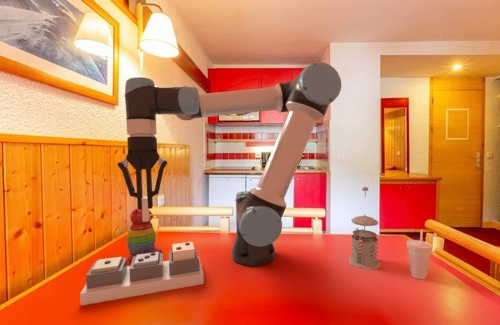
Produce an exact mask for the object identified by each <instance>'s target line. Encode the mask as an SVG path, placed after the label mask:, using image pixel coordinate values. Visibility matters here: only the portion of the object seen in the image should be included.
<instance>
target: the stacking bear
mask: <svg viewBox="0 0 500 325" xmlns="http://www.w3.org/2000/svg"><path fill="white" fill-rule="evenodd" d="M153 217H154V215H153V212H152V211H151V210H150V209H149V221H147V222H143V216H142V209H140V210H139V209H138V207H135V208H134V209H132V211H131V213H130V216H129V218H130V221H131V223H132V224H131V225H130V226H129V228H128V231H127V236H126V245H127V247H128V252H129V254H128V257H127V260H128V261H129V262H131V263H132V259H133V257H135V256H137V255H138V254H146V253H154V252H159V253H163V250H162V249H161V247H157V246H155V245H156V244H155V243H156V236H157V235H156V231H155V229H154V225H153V223H152V222H151V221H152V220H153Z"/></svg>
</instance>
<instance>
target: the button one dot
mask: <svg viewBox="0 0 500 325" xmlns="http://www.w3.org/2000/svg"><path fill="white" fill-rule="evenodd" d="M122 258H123V256H118V257H117V256H116V257H108V258H103V259H102V258H100V259H97V261H95V262H96V264H95V265H94V267H93V269H92V273H98V272H105V271H112V270H119V268H120V266H121V263H122Z"/></svg>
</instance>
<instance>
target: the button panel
mask: <svg viewBox="0 0 500 325" xmlns="http://www.w3.org/2000/svg"><path fill="white" fill-rule="evenodd" d="M194 249H195V259H188V260H181V261H174V262H173V251H169V252H168V260H164V254H163V252H162V253H159V264H154V265H147V266H140V267H134V263H135V259H136V256H135V257H133V259H132V262H131V263H130V265H128V262H127V261H128V257H122V263H121V266H120V268H119V270H112V271H105V272H98V273H92V269H93V267H94V265H95V264H96V262H97V261H94V262H93V264H92V266H91V267H90V269H89V270H88V272H87V273H86V275H85V285H84V286H83V289H82V290H81V292H80V293H79V296H80V297H79V298H80V306H86V305H93V304H98V303H103V302H109V301H115V300H119V299H120V300H122V299H125V298H131V297H132V298H133V297H136V296H137V297H138V296H143V295H148V294H154V293H159V292H164V291H165V292H166V291H171V290H177V289H184V288H188V287H194V286H200V285H204V284H205V282H204V278H205V276H204V272H203V271H204V270H203V267H202V264H201V260H200V257H199V254H198V251H197V248H195V247H194Z"/></svg>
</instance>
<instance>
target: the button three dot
mask: <svg viewBox="0 0 500 325" xmlns="http://www.w3.org/2000/svg"><path fill="white" fill-rule="evenodd" d="M154 264H159V252H154V253H146V254H138V255H137V256H136V259H135V263H134V267H140V266H147V265H154Z"/></svg>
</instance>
